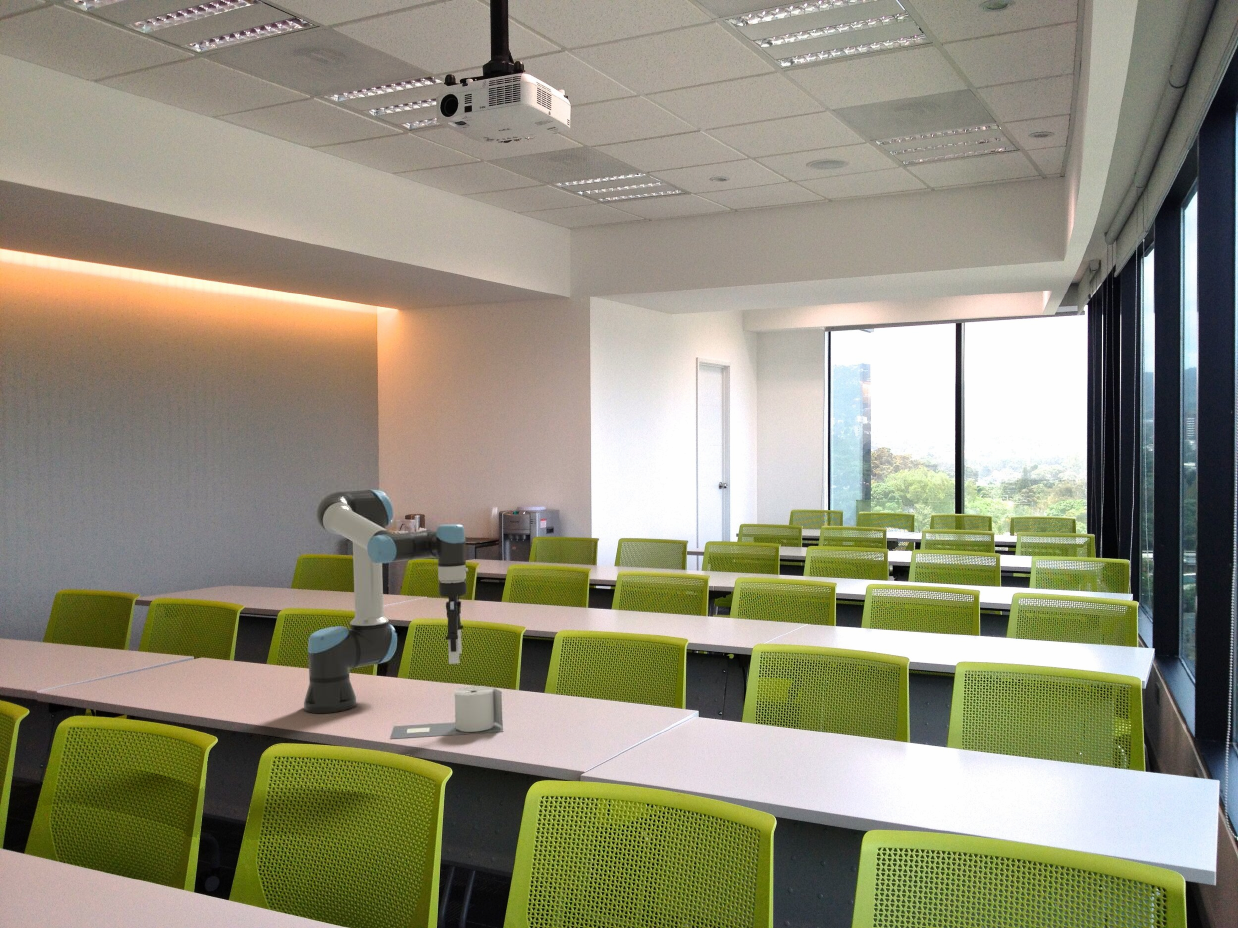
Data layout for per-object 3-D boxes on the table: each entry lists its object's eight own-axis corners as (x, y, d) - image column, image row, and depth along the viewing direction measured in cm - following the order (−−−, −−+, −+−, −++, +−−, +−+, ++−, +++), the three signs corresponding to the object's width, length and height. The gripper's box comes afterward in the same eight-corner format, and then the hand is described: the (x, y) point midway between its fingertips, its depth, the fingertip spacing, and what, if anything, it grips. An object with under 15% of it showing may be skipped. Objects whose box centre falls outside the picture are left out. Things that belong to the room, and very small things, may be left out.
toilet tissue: (451, 724, 279) (450, 688, 279) (494, 718, 283) (493, 683, 283) (459, 734, 269) (458, 697, 269) (503, 728, 273) (502, 692, 273)
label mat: (390, 738, 267) (390, 738, 267) (394, 726, 279) (394, 725, 279) (503, 731, 271) (503, 730, 271) (502, 719, 283) (502, 718, 283)
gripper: (464, 585, 262) (467, 666, 262) (468, 574, 287) (471, 648, 287) (435, 587, 261) (438, 668, 261) (441, 576, 286) (444, 650, 286)
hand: (455, 658), depth 274 cm, fingers open, 13 cm apart
